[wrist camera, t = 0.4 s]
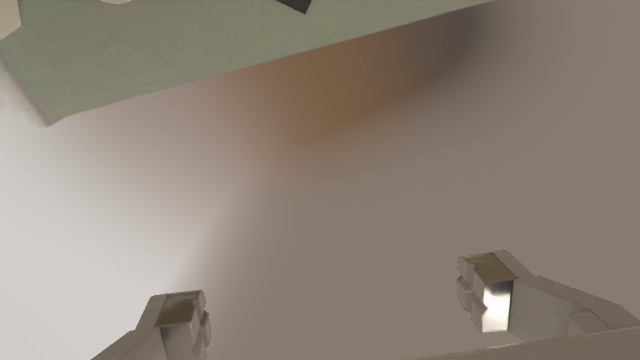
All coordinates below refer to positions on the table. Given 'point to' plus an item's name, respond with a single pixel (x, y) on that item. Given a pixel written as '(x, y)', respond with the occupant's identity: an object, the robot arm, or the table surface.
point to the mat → (297, 4)
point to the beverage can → (116, 1)
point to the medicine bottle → (9, 17)
